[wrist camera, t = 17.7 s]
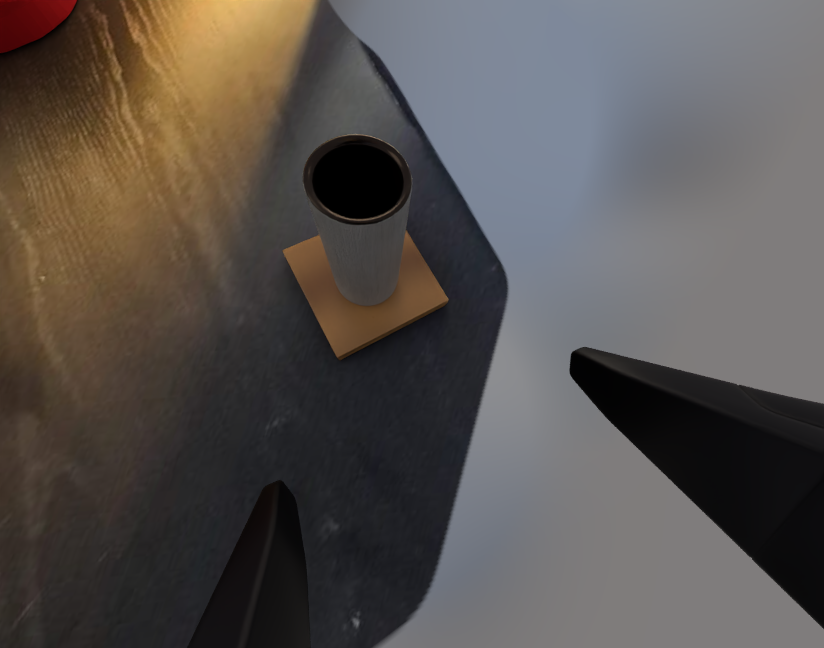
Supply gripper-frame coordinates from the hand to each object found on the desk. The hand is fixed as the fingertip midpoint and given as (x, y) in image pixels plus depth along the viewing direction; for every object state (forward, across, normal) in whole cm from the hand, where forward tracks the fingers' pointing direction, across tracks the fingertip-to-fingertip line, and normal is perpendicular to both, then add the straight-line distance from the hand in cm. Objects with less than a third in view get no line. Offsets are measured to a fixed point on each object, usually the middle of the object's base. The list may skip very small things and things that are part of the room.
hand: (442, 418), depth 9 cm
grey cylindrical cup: (+16, -1, +2) cm, 16 cm away
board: (+17, -1, +2) cm, 17 cm away
